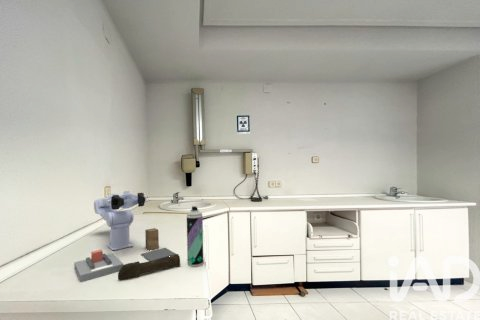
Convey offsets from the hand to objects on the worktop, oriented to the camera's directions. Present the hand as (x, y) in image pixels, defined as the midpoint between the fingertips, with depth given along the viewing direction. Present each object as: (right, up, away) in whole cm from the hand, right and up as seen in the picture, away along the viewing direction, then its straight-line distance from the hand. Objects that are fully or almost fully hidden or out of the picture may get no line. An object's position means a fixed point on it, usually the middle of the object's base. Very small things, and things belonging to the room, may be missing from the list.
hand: (133, 200), depth 89 cm
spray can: (+25, -21, -7) cm, 33 cm away
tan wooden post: (+3, -22, +10) cm, 24 cm away
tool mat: (+9, -22, +2) cm, 23 cm away
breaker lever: (-9, -20, -7) cm, 23 cm away
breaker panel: (-8, -22, -9) cm, 25 cm away
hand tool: (+12, -21, -13) cm, 28 cm away
